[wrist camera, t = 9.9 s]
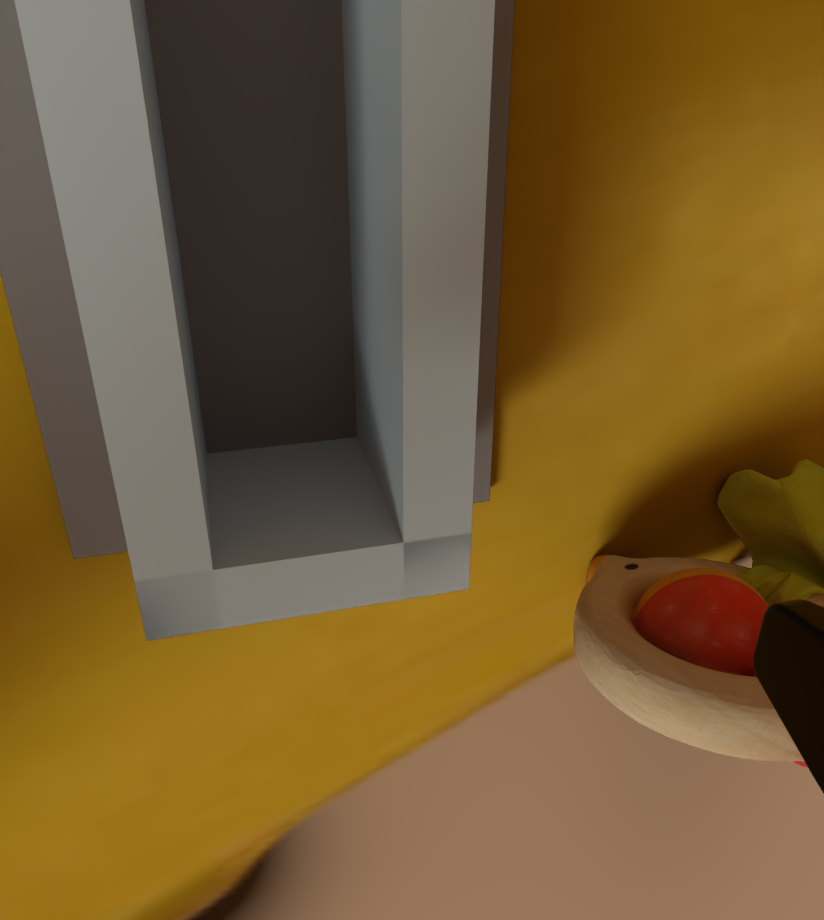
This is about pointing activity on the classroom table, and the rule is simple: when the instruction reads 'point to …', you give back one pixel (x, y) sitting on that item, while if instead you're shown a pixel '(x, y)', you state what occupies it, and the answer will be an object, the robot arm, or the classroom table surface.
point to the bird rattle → (706, 620)
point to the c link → (374, 322)
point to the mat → (225, 240)
